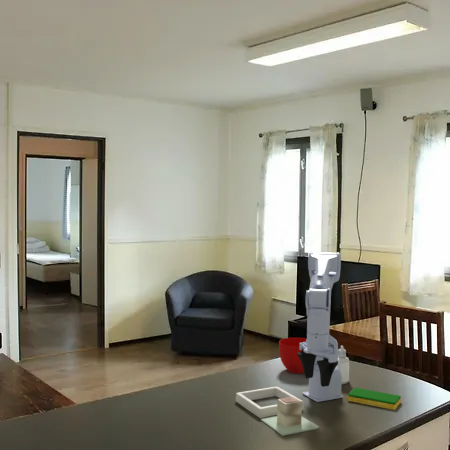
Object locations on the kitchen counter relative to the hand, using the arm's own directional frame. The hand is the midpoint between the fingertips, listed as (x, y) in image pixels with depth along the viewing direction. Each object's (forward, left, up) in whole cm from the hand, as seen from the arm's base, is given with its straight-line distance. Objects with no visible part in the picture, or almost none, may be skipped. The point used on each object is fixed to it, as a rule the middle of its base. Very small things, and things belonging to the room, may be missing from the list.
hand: (316, 381), depth 156 cm
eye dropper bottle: (-24, -20, -10) cm, 33 cm away
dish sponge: (-22, -2, -10) cm, 24 cm away
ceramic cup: (-19, -35, -10) cm, 41 cm away
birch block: (+10, +2, -9) cm, 14 cm away
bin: (+8, -12, -9) cm, 17 cm away
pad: (+10, +2, -9) cm, 14 cm away
